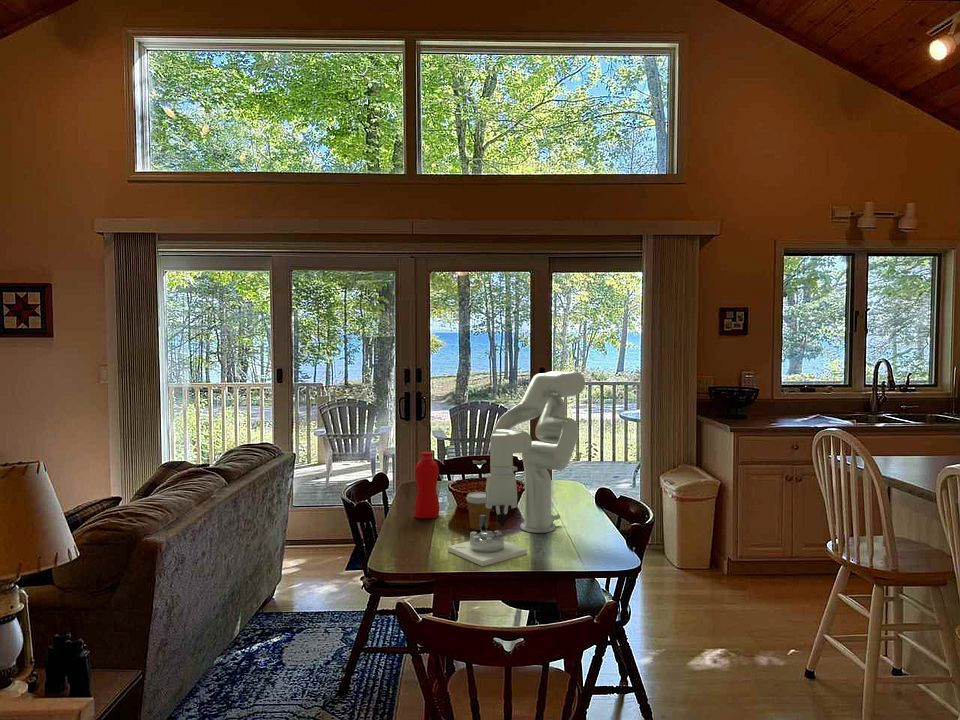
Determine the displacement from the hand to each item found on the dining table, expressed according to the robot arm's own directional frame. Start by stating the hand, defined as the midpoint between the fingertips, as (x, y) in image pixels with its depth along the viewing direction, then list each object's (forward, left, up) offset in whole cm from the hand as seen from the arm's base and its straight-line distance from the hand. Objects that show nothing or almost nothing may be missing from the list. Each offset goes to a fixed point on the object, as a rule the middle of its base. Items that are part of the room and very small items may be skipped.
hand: (501, 525), depth 211 cm
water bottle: (-1, -45, -7) cm, 46 cm away
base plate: (+8, +3, -7) cm, 11 cm away
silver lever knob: (+7, +1, -5) cm, 9 cm away
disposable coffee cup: (-7, -20, -7) cm, 22 cm away
